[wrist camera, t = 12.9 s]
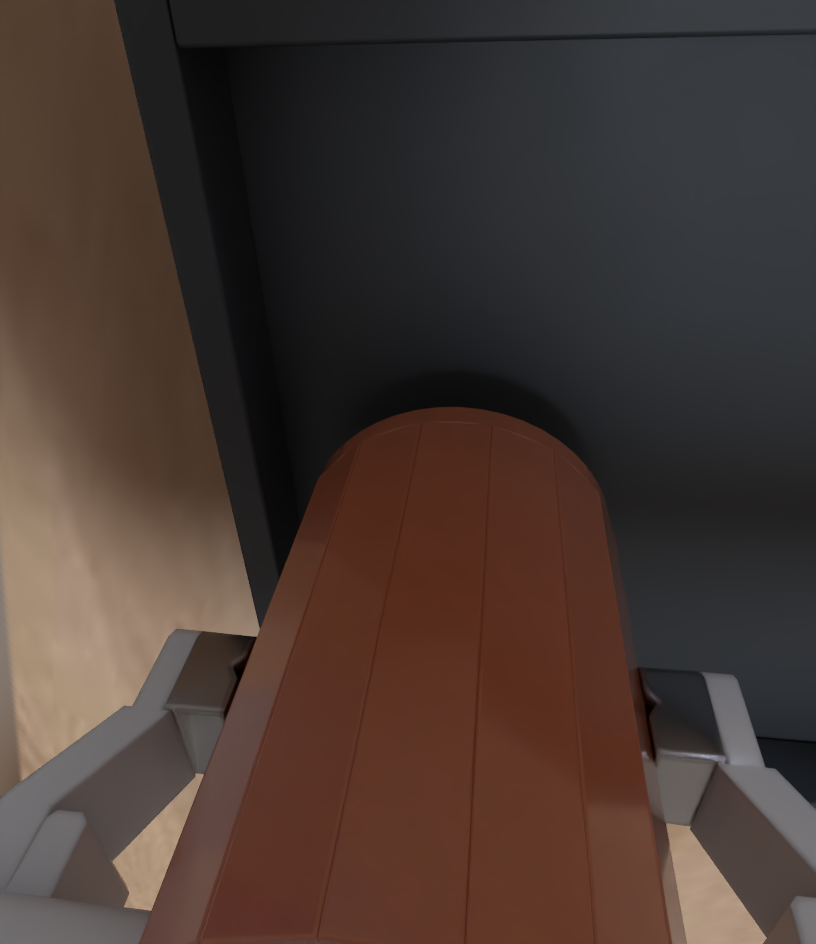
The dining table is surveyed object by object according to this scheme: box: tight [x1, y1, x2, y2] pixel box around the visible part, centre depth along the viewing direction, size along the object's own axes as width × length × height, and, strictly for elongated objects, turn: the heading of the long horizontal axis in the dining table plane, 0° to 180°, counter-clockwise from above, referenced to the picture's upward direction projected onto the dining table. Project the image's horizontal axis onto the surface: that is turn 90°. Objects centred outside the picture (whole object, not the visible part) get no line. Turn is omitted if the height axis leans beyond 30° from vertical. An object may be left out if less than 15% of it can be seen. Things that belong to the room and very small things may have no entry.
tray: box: [114, 0, 816, 809], centre depth 15 cm, size 20×20×3 cm
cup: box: [139, 407, 687, 944], centre depth 11 cm, size 6×6×9 cm
